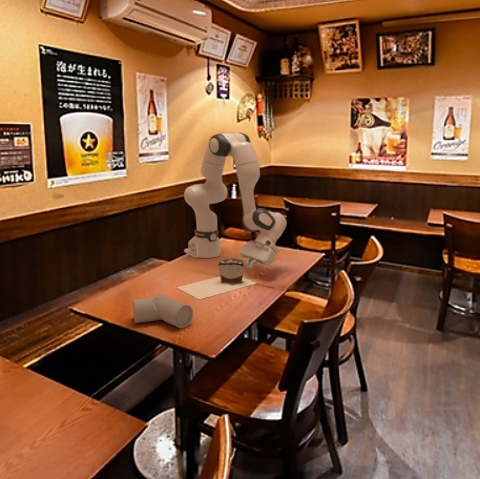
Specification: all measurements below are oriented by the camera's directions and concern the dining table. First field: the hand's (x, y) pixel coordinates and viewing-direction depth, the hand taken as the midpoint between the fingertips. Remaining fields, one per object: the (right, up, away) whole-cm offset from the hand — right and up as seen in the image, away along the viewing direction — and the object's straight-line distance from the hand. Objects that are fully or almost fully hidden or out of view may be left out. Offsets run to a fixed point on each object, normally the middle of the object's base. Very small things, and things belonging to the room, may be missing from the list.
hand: (247, 267), depth 211 cm
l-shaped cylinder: (-31, -17, -46) cm, 58 cm away
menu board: (-14, -7, -9) cm, 18 cm away
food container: (-7, -6, -4) cm, 10 cm away
